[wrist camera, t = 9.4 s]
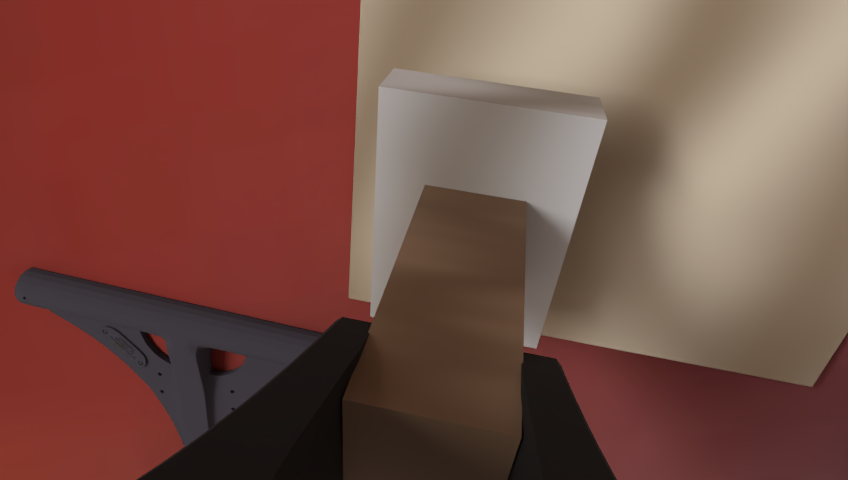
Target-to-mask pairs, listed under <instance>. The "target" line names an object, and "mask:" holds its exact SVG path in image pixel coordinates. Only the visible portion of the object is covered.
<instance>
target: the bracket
mask: <svg viewBox="0 0 848 480" xmlns="http://www.w3.org/2000/svg"><path fill="white" fill-rule="evenodd" d="M15 295H16V298H17V300H18V301H20V302H22V303H24V304H28V305H32V306H37V307H41V308H45V309H49V310H50V311H52V312H53V313H55V314H57V315H58V316H60V317H62V318H63V319H65V320H67V321H68V322H70V323H72V324H73V325H75V326H77V327H78V328H80V329H81V330H83V331H85V332H86V333H88V334H89V335H90V336H92V337H93V338H95V339H96V340H98V341H99V342H100V343H102V344H103V345H104V346H106V347H107V348H108V349H109V350H111V351H112V352H113V353H114V354H116V355H117V356H118V357H119V358H120V359H121V360H123V361H124V362H125V363H126V364H127V365H128V366H129V367H130V368H131V369H132V370H133V371H134V372H135V373H136V374H137V375H138V376H139V377H140V378H141V379H142V380H143V381H144V382H145V383H147V385H148V386H149V387H150V388H151V389H152V390H153V392H154V393H155V395H156V396H157V397H158V399H159V400H160V402H161V403H162V405H163V406H164V408H165V409H166V411H167V412H168V414H169V416H170V417H171V419H172V421H173V423H174V425H175V427H176V429H177V431H178V433H179V435H180V437H181V440H182V442H183V444H184V445H185V446H187V445H188V444H190V443H191V442H192V441H194V440H195V439H197V438H198V437H199V436H201V435H202V434H203V433H205V432H206V431H207V430H209V429H210V428H211V427H212V426H214V425H215V424H216V423H218V422H219V421H220V420H222V419H223V418H224V417H225V416H227V415H228V414H229V413H231V412H232V411H233V410H235V409H236V408H237V407H239V406H240V405H241V404H242V403H244V402H245V401H246V400H247V399H249V398H250V397H251V396H252V395H254V394H255V393H256V392H257V391H258V390H260V389H261V388H262V387H263V386H264V385H265V384H267V383H268V382H269V381H270V380H271V379H273V378H274V377H275V376H276V375H277V374H278V373H280V372H281V371H282V370H283V369H284V368H286V367H287V366H288V365H289V364H290V363H291V362H292V361H293V360H295V359H296V358H297V357H298V356H299V355H300V354H301V353H302V352H303V351H305V350H306V349H307V348H308V347H309V346H310V345H311V344H312V343H313V342H314V341H315V340H316V339H318V338H319V337H320V336H321V335H322V334H323V333H319V332H315V331H310V330H306V329H301V328H297V327H293V326H288V325H284V324H279V323H275V322H271V321H266V320H262V319H257V318H253V317H249V316H244V315H240V314H235V313H231V312H227V311H222V310H218V309H213V308H209V307H205V306H200V305H196V304H191V303H187V302H182V301H178V300H174V299H169V298H165V297H160V296H156V295H152V294H147V293H143V292H138V291H134V290H130V289H125V288H121V287H116V286H112V285H108V284H103V283H99V282H94V281H90V280H86V279H81V278H77V277H72V276H68V275H64V274H59V273H55V272H50V271H46V270H41V269H37V268H30V269H28V270H26V271H25V272H24V273H23V274H22V275H21V276H20V278H19V279H18V281H17V284H16V286H15ZM146 333H150V334H154V335H157V336H160V337H162V338H163V339H164V340H165V342H166V346H167V351H168V355H169V356H167V355H165V354H164V353H163V352H161V351H160V350H159V349H158V348H157V347H156V346H155V345H154V344H153V343H152V342H151V340H150V339H149V337H148V336H147V334H146ZM211 348H213V349H218V350H223V351H227V352H231V353H236V354H240V355H244V356H246V359H245V362H244V364H243V365H242V366H240V367H239V368H237V369H234V370H230V371H216V370H213V369H212V361H211Z"/></svg>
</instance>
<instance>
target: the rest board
mask: <svg viewBox="0 0 848 480" xmlns="http://www.w3.org/2000/svg"><path fill="white" fill-rule="evenodd" d="M394 68H397V69H404V70H411V71H418V72H425V73H432V74H439V75H445V76H452V77H459V78H466V79H473V80H480V81H487V82H494V83H501V84H508V85H515V86H522V87H529V88H536V89H543V90H550V91H557V92H564V93H571V94H578V95H585V96H592V97H599V98H600V100H601V103H602V106H603V109H604V112H605V115H606V118H607V123H606V126H605V129H604V133H603V136H602V139H601V142H600V146H599V149H598V152H597V155H596V158H595V162H594V165H593V168H592V171H591V174H590V178H589V181H588V184H587V187H586V191H585V194H584V197H583V200H582V203H581V207H580V210H579V213H578V216H577V219H576V223H575V226H574V229H573V232H572V235H571V239H570V242H569V245H568V248H567V252H566V255H565V258H564V261H563V264H562V268H561V271H560V274H559V277H558V280H557V284H556V287H555V290H554V293H553V297H552V300H551V303H550V306H549V309H548V313H547V316H546V319H545V322H544V325H543V329H542V332H541V335H544V336H549V337H554V338H559V339H565V340H570V341H575V342H580V343H585V344H591V345H596V346H601V347H606V348H611V349H617V350H622V351H627V352H632V353H638V354H643V355H648V356H653V357H658V358H664V359H669V360H674V361H679V362H684V363H690V364H695V365H700V366H705V367H710V368H716V369H721V370H726V371H731V372H737V373H742V374H747V375H752V376H757V377H763V378H768V379H773V380H778V381H783V382H789V383H794V384H799V385H804V386H809V387H812V386H813V385H814V383H815V382H816V380H817V379H818V377H819V376H820V374H821V372H822V371H823V369H824V368H825V366H826V365H827V363H828V362H829V360H830V359H831V357H832V356H833V354H834V353H835V351H836V350H837V348H838V346H839V345H840V343H841V342H842V340H843V339H844V337H845V336H846V334H847V333H848V0H361V9H360V34H359V58H358V82H357V107H356V131H355V155H354V180H353V204H352V228H351V253H350V277H349V298H351V299H356V300H361V301H367V302H371V285H372V257H373V230H374V202H375V174H376V147H377V119H378V92H379V85H380V84H381V83H382V82H383V81H384V79H385V78H386V77H387V76H388V75H389V74H390V72H391V71H392V70H393V69H394Z"/></svg>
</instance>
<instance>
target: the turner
mask: <svg viewBox="0 0 848 480" xmlns="http://www.w3.org/2000/svg"><path fill="white" fill-rule="evenodd" d="M606 123H607V118H606V115H605V112H604V109H603V106H602V103H601V100H600V98H599V97H592V96H585V95H578V94H571V93H564V92H557V91H550V90H543V89H536V88H529V87H522V86H515V85H508V84H501V83H494V82H487V81H480V80H473V79H466V78H459V77H452V76H445V75H439V74H432V73H425V72H418V71H411V70H404V69H397V68H394V69H393V70H392V71H391V72H390V74H389V75H388V76H387V77H386V78H385V79H384V81H383V82H382V83H381V84H380V85H379V92H378V119H377V147H376V174H375V202H374V230H373V257H372V285H371V312H370V316H371V317H374V318H373V321H372V324H371V326H370V329H369V331H368V333H369V336H368V339H367V341H366V344H365V346H364V349H363V352H362V354H361V357H360V360H359V362H358V364H357V366H356V368H355V370H354V372H353V374H352V376H351V378H350V381H349V383H348V386H347V389H346V391H345V394H344V396H343V399H342V418H343V480H507V479H508V476H509V473H510V470H511V467H512V464H513V461H514V458H515V455H516V452H517V449H518V446H519V443H520V440H521V437H522V403H521V363H523V349H524V346H526V347H531V348H537V345H538V342H539V338H540V335H541V332H542V329H543V325H544V322H545V319H546V316H547V313H548V309H549V306H550V303H551V300H552V297H553V293H554V290H555V287H556V284H557V280H558V277H559V274H560V271H561V268H562V264H563V261H564V258H565V255H566V252H567V248H568V245H569V242H570V239H571V235H572V232H573V229H574V226H575V223H576V219H577V216H578V213H579V210H580V207H581V203H582V200H583V197H584V194H585V191H586V187H587V184H588V181H589V178H590V174H591V171H592V168H593V165H594V162H595V158H596V155H597V152H598V149H599V146H600V142H601V139H602V136H603V133H604V129H605V126H606Z"/></svg>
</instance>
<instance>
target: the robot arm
mask: <svg viewBox="0 0 848 480" xmlns="http://www.w3.org/2000/svg"><path fill="white" fill-rule="evenodd" d="M371 324H372V323H370V322H365V321H360V320H355V319H350V318H344V317H342V318H340V319H338V320H337V321H335V322H334V323H333V324H332V325H331V326H330V327H329V328H328V329H327V330H326V331H325V332H324V333H323V334H322V335H321V336H320V337H319V338H318V339H316V340H315V341H314V342H313V343H312V344H311V345H310V346H309V347H308V348H307V349H306V350H305V351H303V352H302V353H301V354H300V355H299V356H298V357H297V358H296V359H295V360H293V361H292V362H291V363H290V364H289V365H288V366H287V367H286V368H284V369H283V370H282V371H281V372H280V373H278V374H277V375H276V376H275V377H274V378H273V379H271V380H270V381H269V382H268V383H267V384H265V385H264V386H263V387H262V388H261V389H260V390H258V391H257V392H256V393H255V394H254V395H252V396H251V397H250V398H249V399H247V400H246V401H245V402H244V403H242V404H241V405H240V406H239V407H237V408H236V409H235V410H233V411H232V412H231V413H229V414H228V415H227V416H225V417H224V418H223V419H222V420H220V421H219V422H218V423H216V424H215V425H214V426H212V427H211V428H210V429H209V430H207V431H206V432H205V433H203V434H202V435H201V436H199V437H198V438H197V439H195V440H194V441H192V442H191V443H190V444H188V445H187V446H185V447H184V448H183V449H181V450H180V451H178V452H177V453H176V454H174V455H173V456H171V457H170V458H168V459H167V460H165V461H164V462H163V463H161V464H160V465H158V466H157V467H155V468H154V469H152V470H151V471H149V472H148V473H146V474H145V475H143V476H142V477H140V478H138V479H137V480H343V418H342V399H343V396H344V394H345V391H346V389H347V386H348V383H349V381H350V378H351V376H352V374H353V372H354V370H355V368H356V366H357V364H358V362H359V360H360V357H361V354H362V352H363V349H364V346H365V344H366V341H367V339H368V336H369V333H368V331H369V329H370V326H371ZM521 403H522V437H521V440H520V443H519V446H518V449H517V452H516V455H515V458H514V461H513V464H512V467H511V470H510V473H509V476H508V479H507V480H617V479H616V478H615V476H614V474H613V472H612V470H611V468H610V466H609V465H608V463H607V461H606V459H605V457H604V455H603V453H602V452H601V450H600V448H599V446H598V444H597V442H596V440H595V438H594V436H593V434H592V432H591V430H590V428H589V426H588V424H587V422H586V420H585V418H584V416H583V414H582V412H581V410H580V407H579V405H578V403H577V401H576V399H575V397H574V395H573V392H572V390H571V388H570V386H569V383H568V381H567V379H566V376H565V374H564V372H563V369H562V367H561V365H560V363H559V362H558V361H557V359H555V358H549V357H544V356H539V355H534V354H529V353H524V352H523V363H521Z"/></svg>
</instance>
